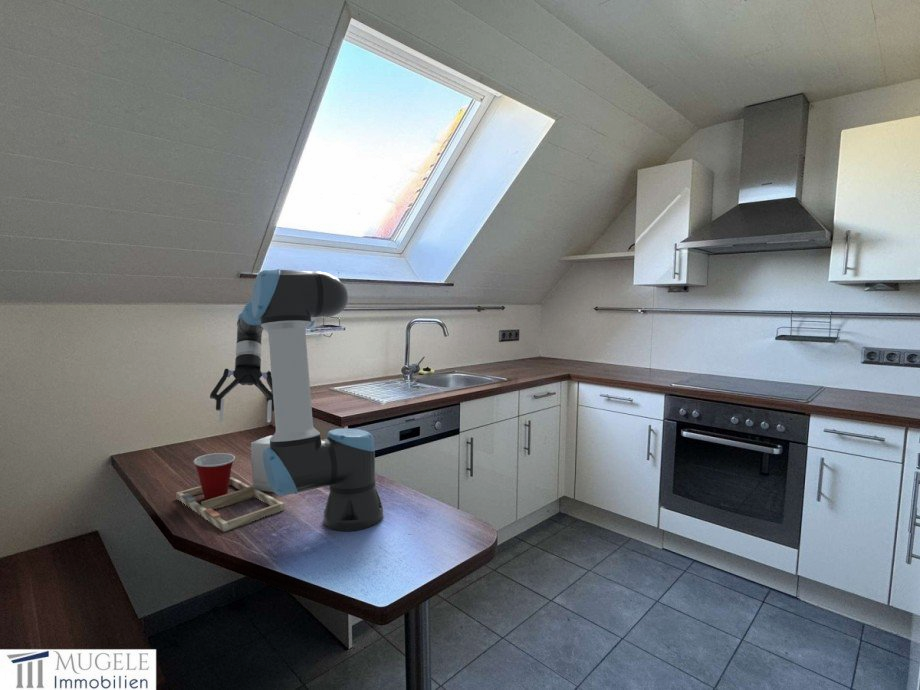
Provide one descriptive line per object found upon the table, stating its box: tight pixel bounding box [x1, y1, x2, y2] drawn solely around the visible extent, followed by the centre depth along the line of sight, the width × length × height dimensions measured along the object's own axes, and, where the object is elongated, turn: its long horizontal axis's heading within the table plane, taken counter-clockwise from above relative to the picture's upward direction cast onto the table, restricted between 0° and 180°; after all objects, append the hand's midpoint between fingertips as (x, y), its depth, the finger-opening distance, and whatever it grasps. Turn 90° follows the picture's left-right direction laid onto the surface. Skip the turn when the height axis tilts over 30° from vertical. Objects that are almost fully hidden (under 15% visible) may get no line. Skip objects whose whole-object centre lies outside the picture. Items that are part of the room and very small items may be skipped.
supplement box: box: [250, 435, 274, 493], centre depth 143 cm, size 9×9×15 cm
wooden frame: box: [176, 476, 285, 532], centre depth 130 cm, size 32×16×3 cm, turn 50°
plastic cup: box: [193, 452, 236, 501], centre depth 135 cm, size 11×11×12 cm
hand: (245, 421), depth 142 cm, fingers open, 13 cm apart
